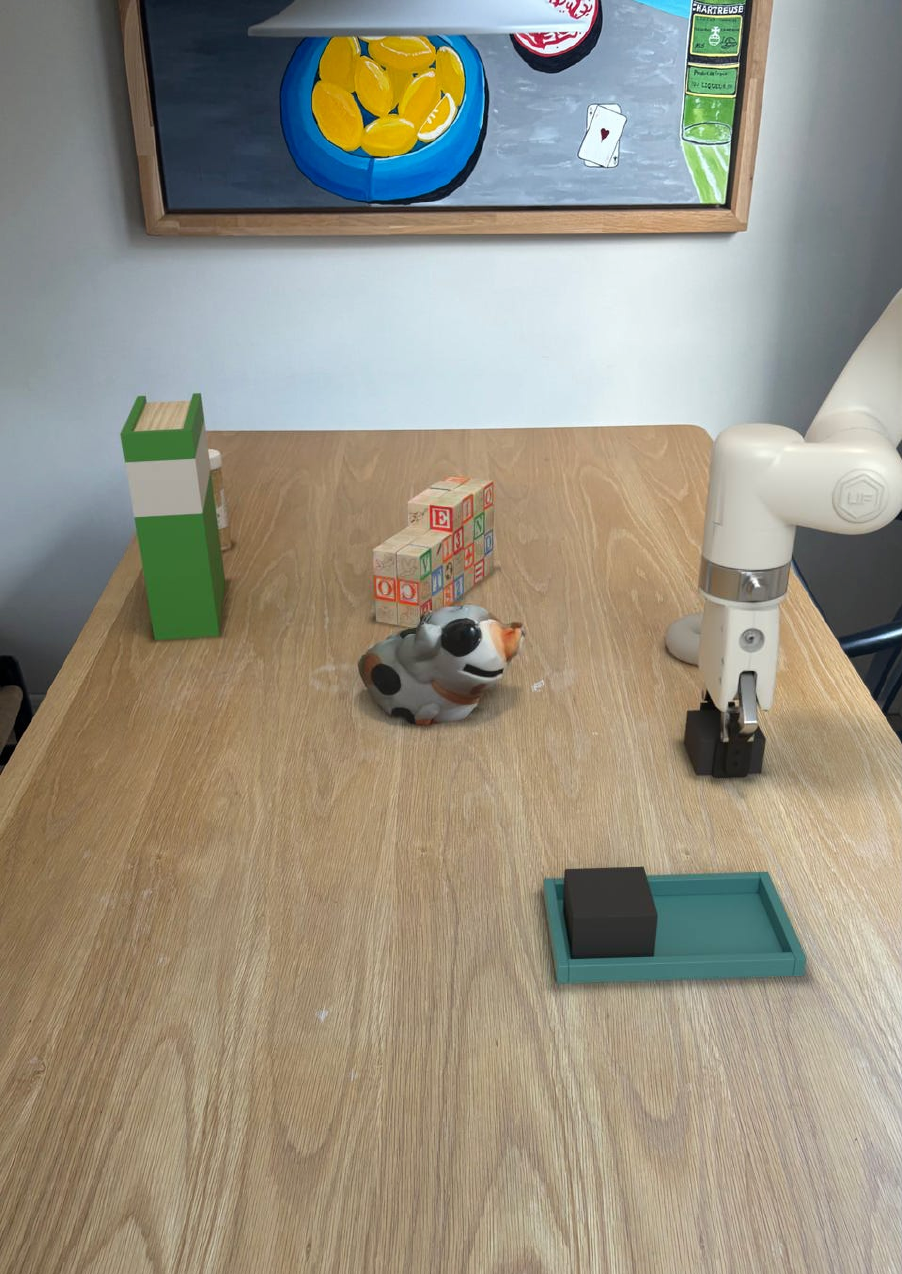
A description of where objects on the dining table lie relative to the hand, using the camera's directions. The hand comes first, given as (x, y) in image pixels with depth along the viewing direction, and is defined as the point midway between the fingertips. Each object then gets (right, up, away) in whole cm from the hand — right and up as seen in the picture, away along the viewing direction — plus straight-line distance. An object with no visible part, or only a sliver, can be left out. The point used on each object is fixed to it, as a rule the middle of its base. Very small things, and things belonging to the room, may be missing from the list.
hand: (721, 755), depth 108 cm
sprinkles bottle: (-59, +31, +53) cm, 85 cm away
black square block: (0, -1, 0) cm, 1 cm away
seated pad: (-14, -14, -22) cm, 30 cm away
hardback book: (-58, +19, +34) cm, 69 cm away
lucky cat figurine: (-26, +6, +12) cm, 30 cm away
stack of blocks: (-27, +21, +37) cm, 50 cm away
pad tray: (-9, -15, -22) cm, 28 cm away
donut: (+3, +12, +21) cm, 24 cm away
